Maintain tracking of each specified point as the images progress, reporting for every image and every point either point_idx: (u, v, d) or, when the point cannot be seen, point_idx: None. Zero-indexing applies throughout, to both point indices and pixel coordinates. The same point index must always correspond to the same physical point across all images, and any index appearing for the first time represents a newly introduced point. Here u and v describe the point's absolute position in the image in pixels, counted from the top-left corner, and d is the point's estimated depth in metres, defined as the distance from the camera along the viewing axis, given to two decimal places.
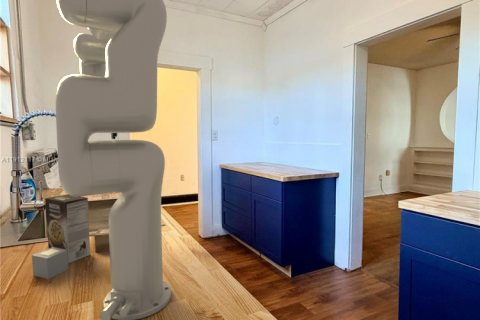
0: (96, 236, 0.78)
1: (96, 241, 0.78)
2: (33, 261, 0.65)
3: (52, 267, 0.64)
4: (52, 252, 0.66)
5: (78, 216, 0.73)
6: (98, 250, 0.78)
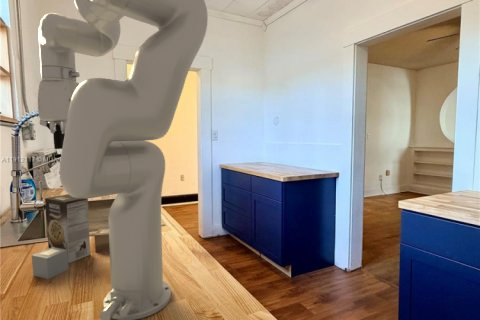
0: (96, 236, 0.78)
1: (96, 241, 0.78)
2: (33, 261, 0.65)
3: (52, 267, 0.64)
4: (52, 252, 0.66)
5: (78, 216, 0.73)
6: (98, 250, 0.78)
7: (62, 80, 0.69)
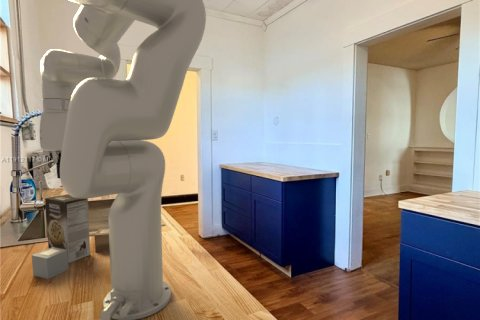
0: (96, 236, 0.78)
1: (96, 241, 0.78)
2: (33, 261, 0.65)
3: (52, 267, 0.64)
4: (52, 252, 0.66)
5: (78, 216, 0.73)
6: (98, 250, 0.78)
7: (64, 112, 0.70)
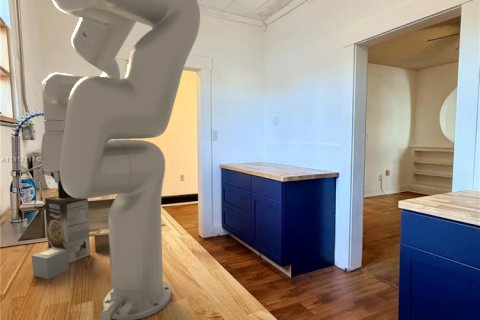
0: (96, 236, 0.78)
1: (96, 241, 0.78)
2: (33, 261, 0.65)
3: (52, 267, 0.64)
4: (52, 252, 0.66)
5: (78, 216, 0.73)
6: (98, 250, 0.78)
7: None
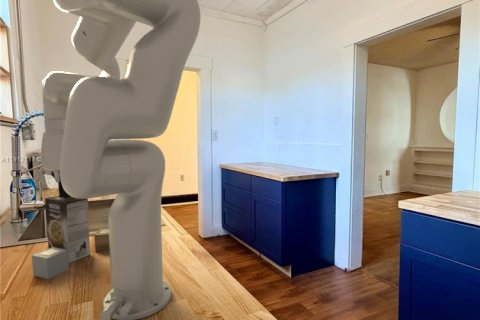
0: (96, 236, 0.78)
1: (96, 241, 0.78)
2: (33, 261, 0.65)
3: (52, 267, 0.64)
4: (52, 252, 0.66)
5: (78, 216, 0.73)
6: (98, 250, 0.78)
7: None
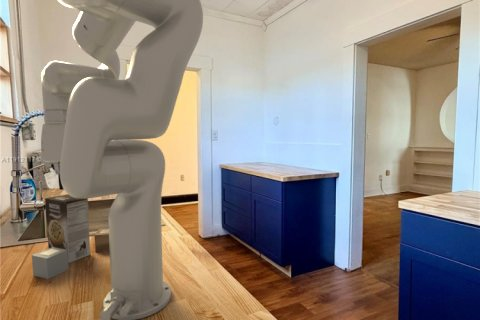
0: (96, 236, 0.78)
1: (96, 241, 0.78)
2: (33, 261, 0.65)
3: (52, 267, 0.64)
4: (52, 252, 0.66)
5: (78, 216, 0.73)
6: (98, 250, 0.78)
7: (65, 123, 0.70)
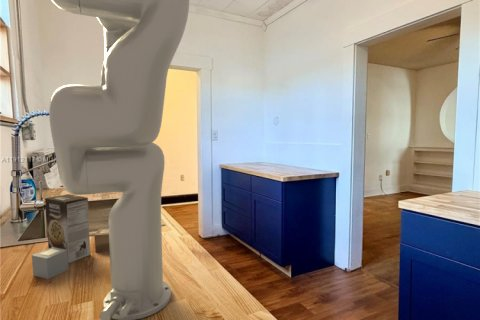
0: (96, 236, 0.78)
1: (96, 241, 0.78)
2: (33, 261, 0.65)
3: (52, 267, 0.64)
4: (52, 252, 0.66)
5: (78, 216, 0.73)
6: (98, 250, 0.78)
7: None
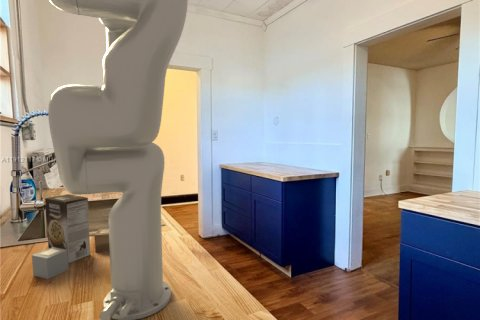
0: (96, 236, 0.78)
1: (96, 241, 0.78)
2: (33, 261, 0.65)
3: (52, 267, 0.64)
4: (52, 252, 0.66)
5: (78, 216, 0.73)
6: (98, 250, 0.78)
7: None
